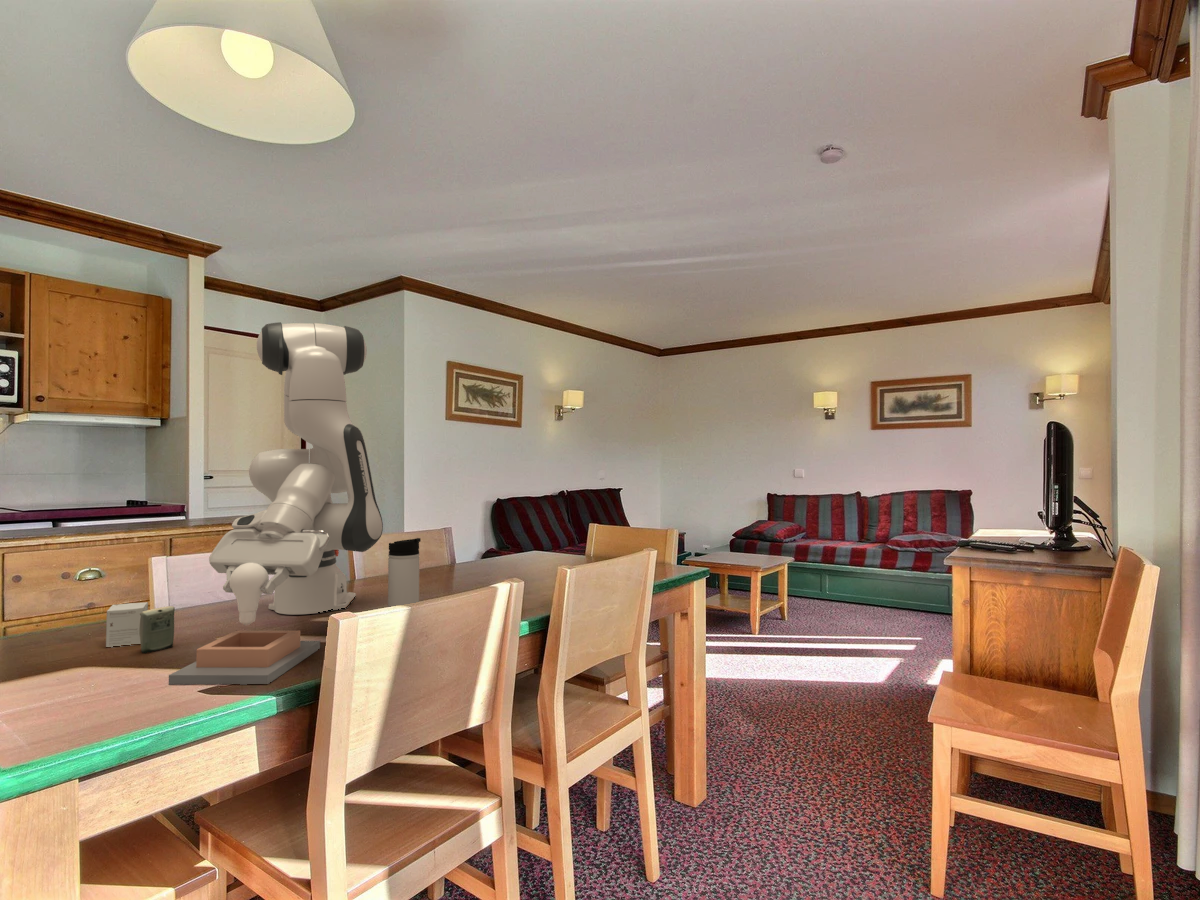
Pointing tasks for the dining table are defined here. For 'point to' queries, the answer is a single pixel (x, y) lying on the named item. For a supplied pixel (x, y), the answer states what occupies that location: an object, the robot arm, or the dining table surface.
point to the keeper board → (246, 658)
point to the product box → (124, 624)
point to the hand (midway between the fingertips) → (246, 591)
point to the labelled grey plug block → (156, 629)
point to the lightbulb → (248, 589)
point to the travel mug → (403, 572)
